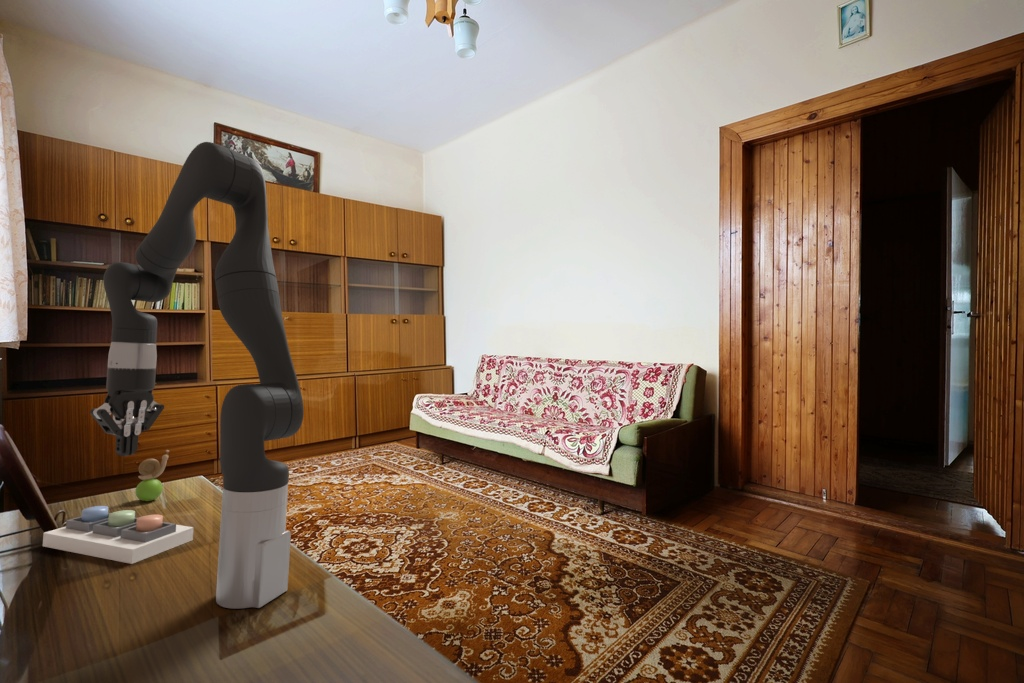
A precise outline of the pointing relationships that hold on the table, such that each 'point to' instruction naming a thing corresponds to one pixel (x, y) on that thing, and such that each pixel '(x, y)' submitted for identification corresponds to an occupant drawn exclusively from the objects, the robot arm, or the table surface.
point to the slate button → (94, 514)
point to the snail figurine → (150, 478)
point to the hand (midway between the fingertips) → (126, 454)
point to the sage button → (121, 518)
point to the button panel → (116, 539)
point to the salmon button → (149, 523)
